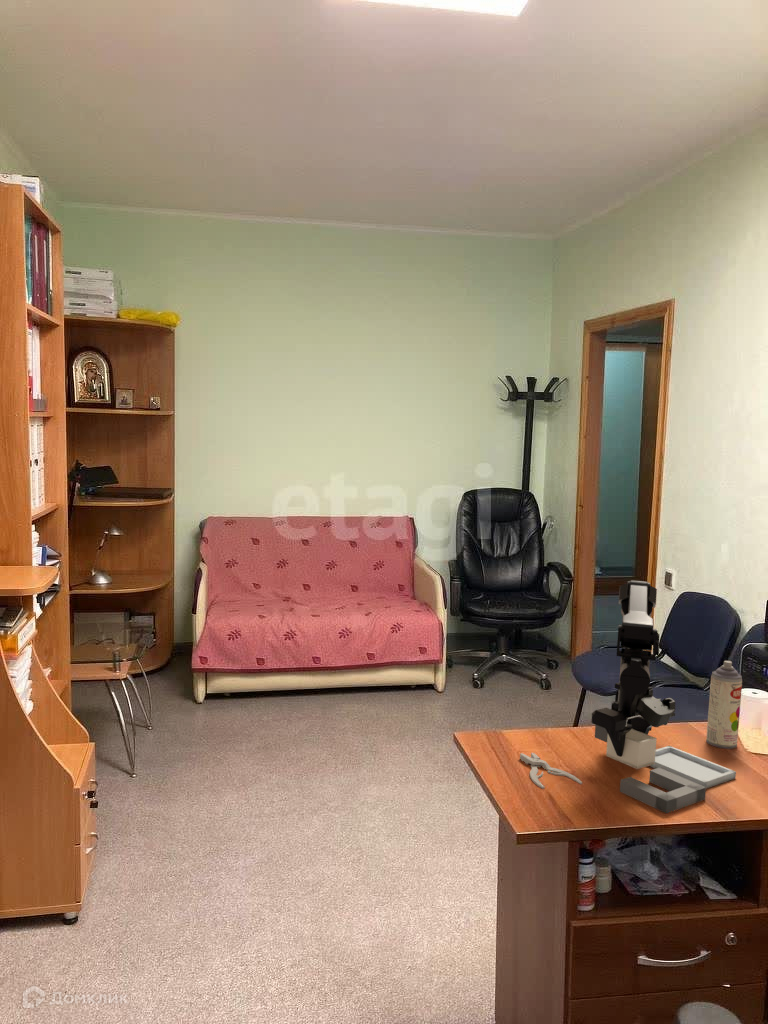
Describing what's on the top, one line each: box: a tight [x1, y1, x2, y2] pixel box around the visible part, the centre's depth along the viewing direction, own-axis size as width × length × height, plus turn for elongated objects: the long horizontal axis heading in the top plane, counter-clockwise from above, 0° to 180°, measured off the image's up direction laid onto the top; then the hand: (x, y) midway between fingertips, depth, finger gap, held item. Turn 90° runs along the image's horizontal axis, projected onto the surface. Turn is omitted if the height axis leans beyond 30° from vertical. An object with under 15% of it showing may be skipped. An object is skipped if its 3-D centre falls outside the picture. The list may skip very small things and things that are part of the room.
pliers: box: [519, 752, 583, 790], centre depth 171 cm, size 10×2×15 cm
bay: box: [619, 768, 707, 814], centre depth 162 cm, size 11×12×2 cm
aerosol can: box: [705, 660, 743, 750], centre depth 192 cm, size 7×7×20 cm
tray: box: [649, 745, 737, 790], centre depth 176 cm, size 17×11×2 cm
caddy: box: [594, 724, 657, 770], centre depth 170 cm, size 13×6×6 cm, turn 35°
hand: (628, 753), depth 168 cm, fingers closed on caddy, 6 cm apart
